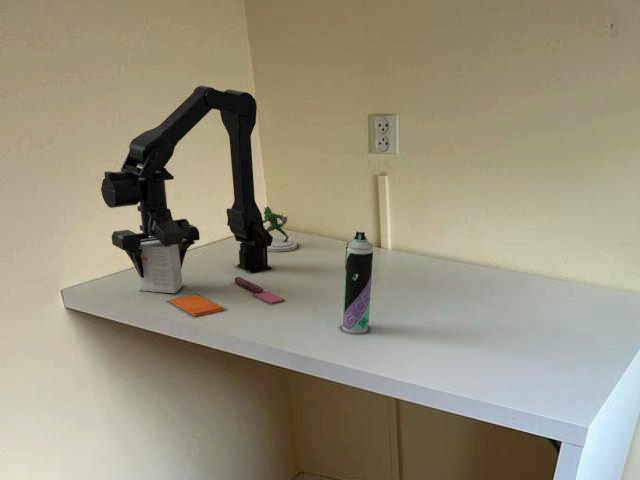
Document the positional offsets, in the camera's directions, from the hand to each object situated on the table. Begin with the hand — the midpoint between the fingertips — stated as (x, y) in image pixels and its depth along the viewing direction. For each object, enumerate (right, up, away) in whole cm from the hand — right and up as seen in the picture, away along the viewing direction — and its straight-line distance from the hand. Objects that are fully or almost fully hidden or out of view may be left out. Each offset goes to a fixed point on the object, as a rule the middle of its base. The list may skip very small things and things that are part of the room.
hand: (160, 274), depth 156 cm
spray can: (+45, -15, -12) cm, 49 cm away
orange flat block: (+10, -9, -6) cm, 14 cm away
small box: (0, -3, +2) cm, 4 cm away
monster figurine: (+22, +20, +37) cm, 47 cm away
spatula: (+22, -3, +3) cm, 22 cm away
